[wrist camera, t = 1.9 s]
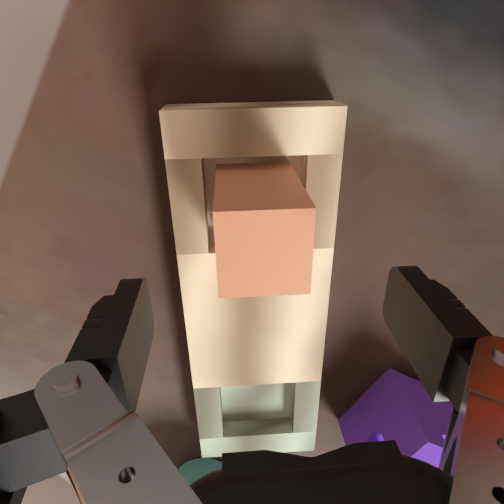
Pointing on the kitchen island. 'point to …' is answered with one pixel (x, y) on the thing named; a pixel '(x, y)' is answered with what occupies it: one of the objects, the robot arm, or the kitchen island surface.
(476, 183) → the kitchen island surface
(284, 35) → the kitchen island surface
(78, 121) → the kitchen island surface
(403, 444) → the bracket
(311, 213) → the salmon orange rectangular block
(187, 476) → the cupcake
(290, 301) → the rail
